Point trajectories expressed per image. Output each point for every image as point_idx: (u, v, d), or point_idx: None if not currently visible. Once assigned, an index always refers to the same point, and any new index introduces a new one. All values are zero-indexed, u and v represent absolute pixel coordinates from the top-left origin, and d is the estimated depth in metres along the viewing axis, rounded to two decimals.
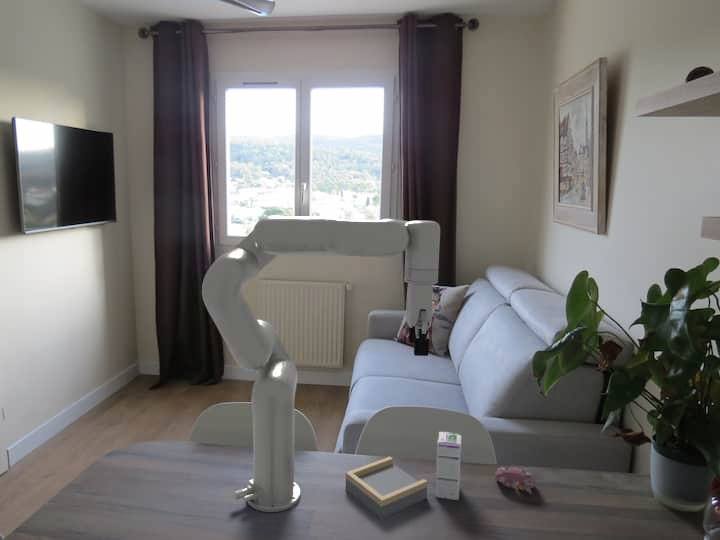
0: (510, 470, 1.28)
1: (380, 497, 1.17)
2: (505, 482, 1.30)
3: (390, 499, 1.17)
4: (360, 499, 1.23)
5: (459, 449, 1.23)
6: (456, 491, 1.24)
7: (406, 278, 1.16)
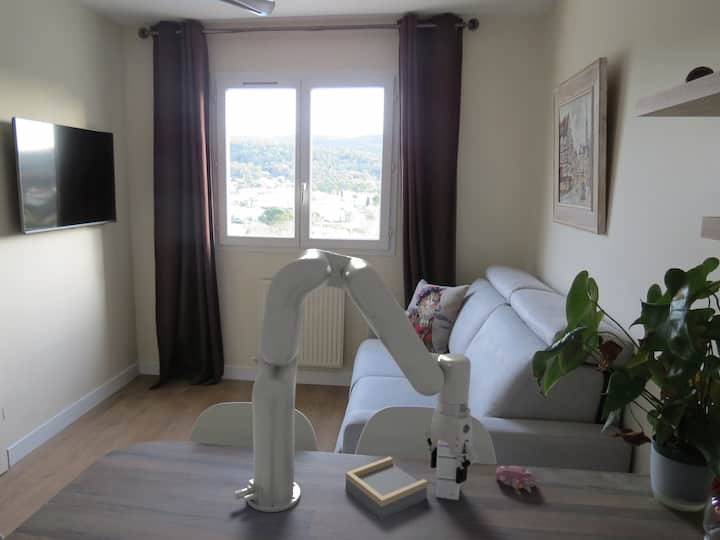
0: (510, 469, 1.29)
1: (380, 497, 1.17)
2: (505, 481, 1.31)
3: (390, 499, 1.17)
4: (360, 499, 1.23)
5: None
6: (456, 491, 1.24)
7: None
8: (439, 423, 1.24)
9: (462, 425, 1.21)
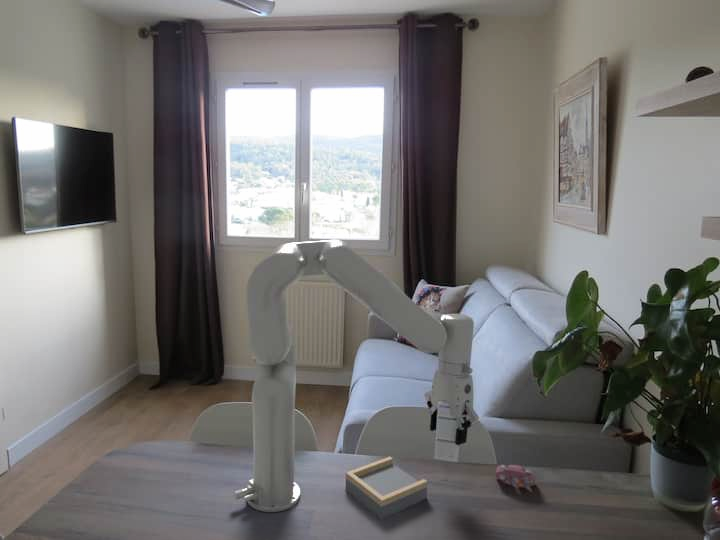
0: (510, 468, 1.30)
1: (380, 497, 1.17)
2: (505, 480, 1.31)
3: (390, 499, 1.17)
4: (360, 499, 1.23)
5: None
6: (455, 453, 1.23)
7: None
8: (440, 383, 1.23)
9: (463, 385, 1.19)
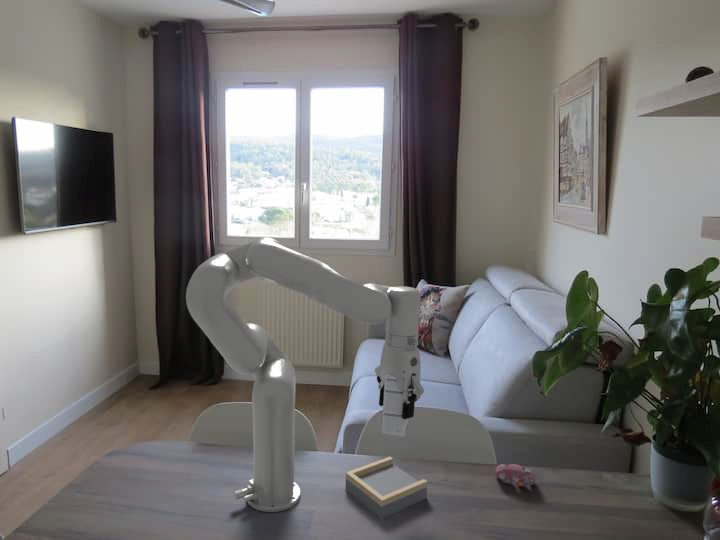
0: (510, 467, 1.30)
1: (380, 497, 1.17)
2: (505, 479, 1.32)
3: (390, 499, 1.17)
4: (360, 499, 1.23)
5: None
6: (403, 427, 1.21)
7: None
8: (388, 357, 1.21)
9: (409, 358, 1.17)
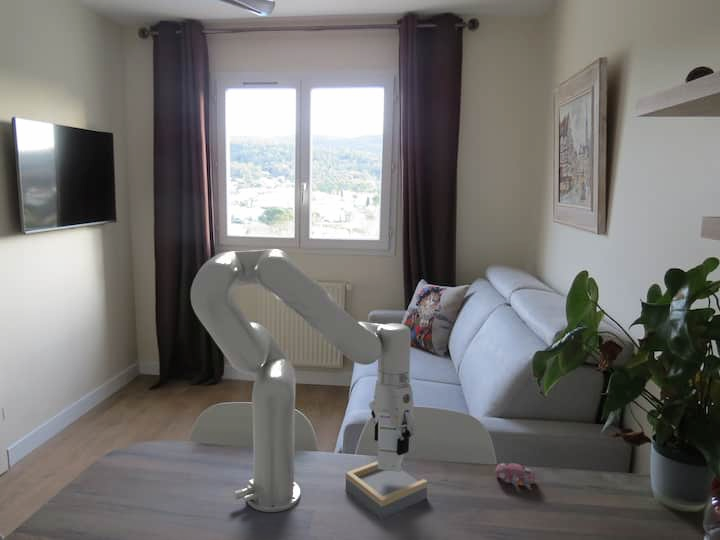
0: (510, 466, 1.30)
1: (380, 497, 1.17)
2: (505, 478, 1.32)
3: (390, 499, 1.17)
4: (360, 499, 1.23)
5: None
6: (398, 462, 1.22)
7: None
8: (381, 394, 1.23)
9: (402, 395, 1.19)
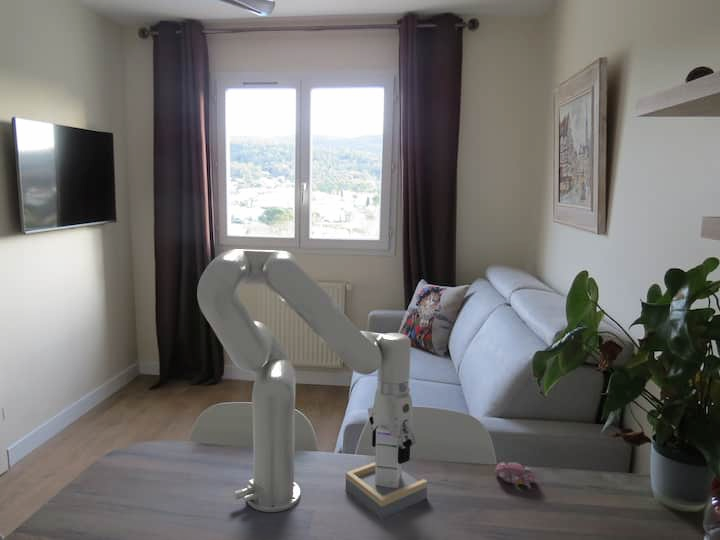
0: (510, 465, 1.31)
1: (380, 497, 1.17)
2: (505, 477, 1.32)
3: (390, 499, 1.17)
4: (360, 499, 1.23)
5: None
6: (395, 479, 1.23)
7: None
8: (380, 403, 1.23)
9: (401, 405, 1.19)
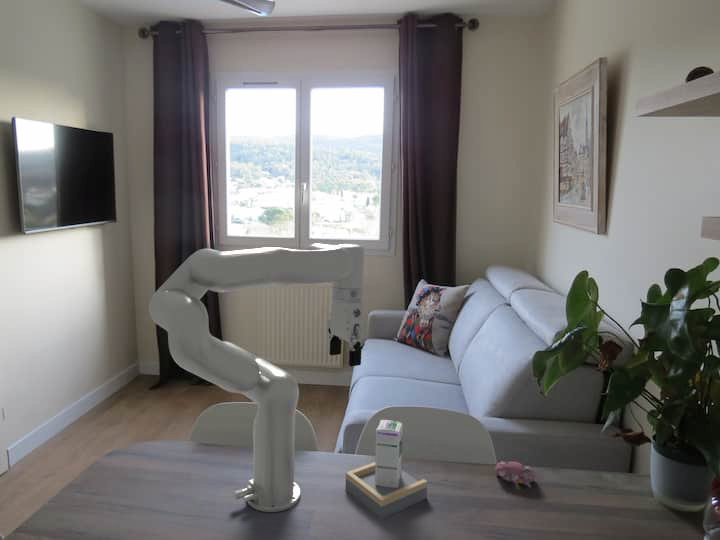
0: (510, 464, 1.31)
1: (380, 497, 1.17)
2: (505, 477, 1.33)
3: (390, 499, 1.17)
4: (360, 499, 1.23)
5: (397, 437, 1.21)
6: (395, 479, 1.23)
7: None
8: (335, 310, 1.30)
9: (352, 309, 1.26)
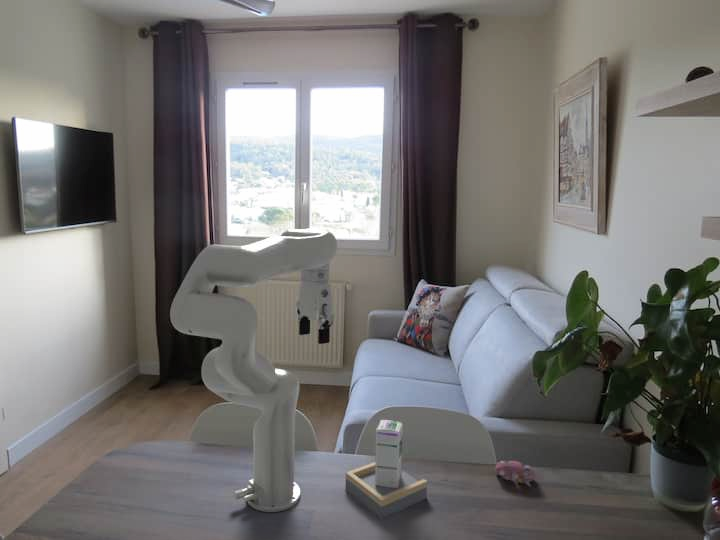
0: (510, 464, 1.32)
1: (380, 497, 1.17)
2: (505, 476, 1.33)
3: (390, 499, 1.17)
4: (360, 499, 1.23)
5: (397, 437, 1.21)
6: (395, 479, 1.23)
7: None
8: (304, 291, 1.36)
9: (320, 289, 1.32)
